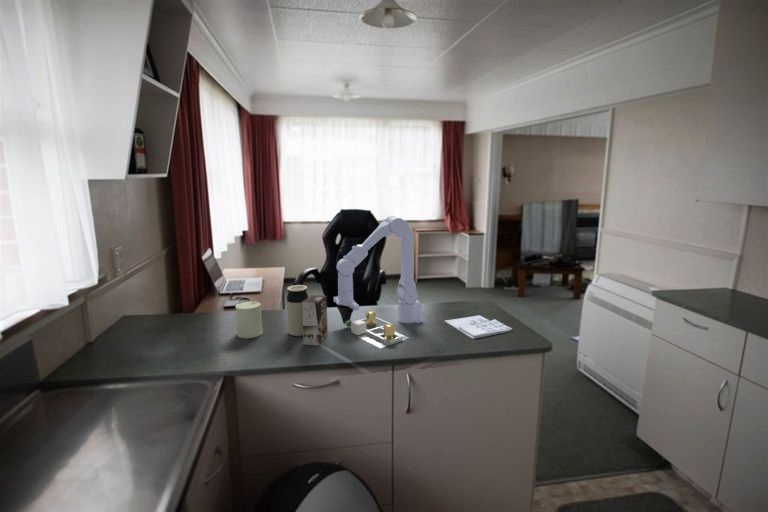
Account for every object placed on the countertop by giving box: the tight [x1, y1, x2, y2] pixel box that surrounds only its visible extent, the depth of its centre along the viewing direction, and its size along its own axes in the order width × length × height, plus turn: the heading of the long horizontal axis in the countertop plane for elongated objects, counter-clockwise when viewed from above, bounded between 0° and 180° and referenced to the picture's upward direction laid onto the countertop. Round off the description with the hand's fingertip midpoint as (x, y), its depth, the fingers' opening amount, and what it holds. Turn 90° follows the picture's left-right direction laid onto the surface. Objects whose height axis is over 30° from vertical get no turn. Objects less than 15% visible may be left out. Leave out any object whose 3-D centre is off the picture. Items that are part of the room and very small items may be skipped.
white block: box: [350, 319, 367, 336], centre depth 156 cm, size 4×4×5 cm
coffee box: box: [302, 294, 329, 347], centre depth 150 cm, size 9×6×16 cm
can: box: [235, 300, 264, 339], centre depth 157 cm, size 9×9×12 cm
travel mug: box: [286, 284, 309, 337], centre depth 158 cm, size 8×8×18 cm
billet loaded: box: [383, 323, 396, 340], centre depth 149 cm, size 4×4×6 cm
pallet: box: [358, 326, 410, 349], centre depth 151 cm, size 14×13×3 cm
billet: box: [365, 310, 377, 327], centre depth 165 cm, size 4×4×6 cm
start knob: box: [344, 318, 353, 328], centre depth 159 cm, size 3×7×3 cm, turn 40°
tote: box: [360, 316, 393, 331], centre depth 165 cm, size 12×12×2 cm
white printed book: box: [444, 315, 513, 340], centre depth 166 cm, size 19×20×2 cm
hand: (346, 323), depth 162 cm, fingers closed
